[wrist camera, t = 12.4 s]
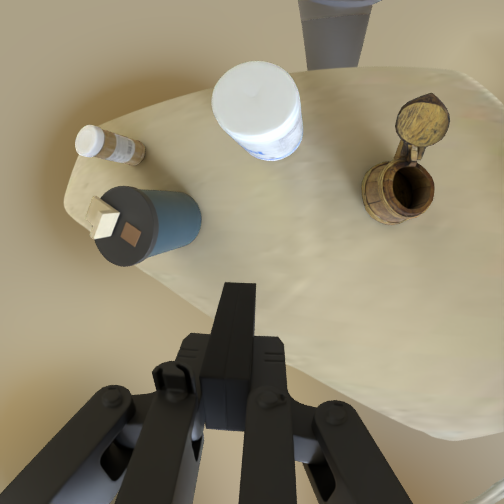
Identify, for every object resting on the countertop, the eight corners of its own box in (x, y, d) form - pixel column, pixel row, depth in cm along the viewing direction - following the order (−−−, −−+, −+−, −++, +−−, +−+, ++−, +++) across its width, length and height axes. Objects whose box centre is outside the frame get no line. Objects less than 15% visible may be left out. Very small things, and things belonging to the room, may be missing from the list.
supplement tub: (230, 146, 44) (192, 118, 30) (258, 94, 42) (233, 48, 28) (286, 173, 43) (272, 153, 28) (315, 118, 41) (313, 77, 26)
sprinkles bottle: (129, 139, 47) (79, 123, 34) (149, 142, 47) (100, 125, 34) (122, 163, 48) (70, 153, 35) (141, 168, 48) (90, 157, 34)
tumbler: (213, 207, 46) (166, 209, 31) (186, 259, 48) (134, 282, 33) (166, 180, 47) (108, 172, 32) (143, 230, 49) (82, 240, 34)
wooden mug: (418, 140, 38) (470, 102, 20) (414, 228, 40) (470, 237, 22) (363, 131, 40) (390, 81, 22) (358, 220, 41) (386, 225, 24)
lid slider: (120, 212, 32) (102, 213, 29) (111, 236, 33) (93, 239, 30) (96, 196, 33) (79, 196, 30) (88, 218, 34) (70, 220, 30)
